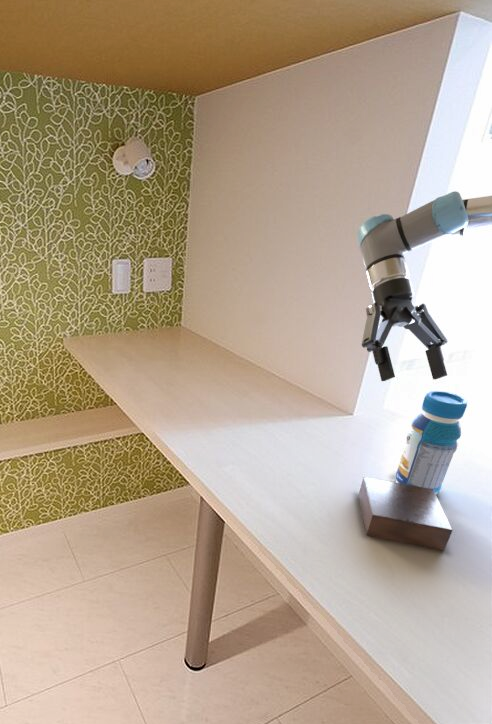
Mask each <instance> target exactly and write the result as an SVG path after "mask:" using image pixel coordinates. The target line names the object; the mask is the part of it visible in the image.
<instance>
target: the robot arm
mask: <svg viewBox="0 0 492 724" xmlns="http://www.w3.org/2000/svg"><path fill="white" fill-rule="evenodd" d="M483 234H492V195H486V196H480V197H471V198H466V199H465V198H464V199H463V198H462V196H461V194H460V192H459V191H451V192H449V193H446V194H444V195H441V196H438V197H437V198H435V199H433V200H432V201H430V202H427V203H425V204H423V205H422V206H419V207H418V208H416V209H413V210H412V211H410V212H408V213H406V214H404V215H402V216H399V217H396V218H394V216H392V215H391V214H388V213H381V214H379V215H377V216H376V215H375V216H374V215H373V216H372V217H370V218H368V219H367V220H366V219H365V221H364V222H363V223H362V224H360V226H359V228H358V230H357V238H358V243H359V246H358V247H359V250H360V254H361V256H362V261H363V265H364V267H365V271H366V275H367V279H368V283H369V287H370V290H371V296H372V301H373V303H372V304H371V305H369V306H367V307H366V308H365V312H366V321H365V326H364V332H363V335H362V341H361V347H362V348H364V349H366V351H367V352H368V353H371V352H372V355H373V360H374V364H375V365H377V368H378V373H379V377H380V381H381V382H386V381H388V380H391V379H394V378H395V377H396V375H395V371H394V367H393V363H392V359H391V356H390V355H391V354H390V351H389V347H388V346H387V345H385V342H386V340H387V338H388V337H389V334H390V332H391V330H392V328H394V327H398V328H404V329H405V330H409V331H410V332H411V333H412V334H413V335H414V337H416V338H417V339H418V340H419V341H420V342H421V344H423V346H425V348H426V349H427V350H425V356H426V359H427V362H428V366H429V370H430V373H431V377H432V380H438V379H441V378H443V377H446V376H448V372H447V368H446V365H445V362H444V360H445V358H444V355H443V351H442V346H444V345H446V344H448V341H449V340H448V339H447V337H446V336H445V334H444V333H443V331H442V330H441V329H440V327H439V326H438V325H437V323H436V321H435V320H434V318H433V317H432V316H431V315H430V313H429V310H428V308H427V305H426V304H425V303H421V304H419V305H414V303H413V301H412V300H413V297H414V296H415V292H414V291H415V290H414V287H413V285H412V281H411V279H410V273H409V269H408V266H407V262H406V259H405V255H404V254H406V253H408V252H412V251H413V250H415V249H417V248H420V247H423V246H424V245H428V244H429V243H432V242H435V241H437V240H439V239H443V238H444V239H445V238H453V237H462V236H463V237H464V236H472V235H483ZM380 319H381V320H380ZM384 345H385V346H384Z"/></svg>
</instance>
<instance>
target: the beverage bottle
mask: <svg viewBox="0 0 492 724" xmlns="http://www.w3.org/2000/svg"><path fill="white" fill-rule="evenodd" d="M467 406H468V400H467V399H466V398H465V397H463V396H461V395H458V394H456V393H452V392H448V391H441V390H432V391H428V392H427V393H426V394H425V395H424V399H423V401H422V405H421V410H422V412H420V413H419V414H418V415H417V416H416V417H415V418H414V419H413V420H412V422H411V429H410V430H409V431H408V432H407V435H406V441H405V444H404V448H403V450H402V454H401V457H400V461H399V463H398V467H397V470H396V473H395V476H394V479H395V483H400V484H406V485H412V486H418V487H424V488H429V489H433V490H434V492H435V494H436V495H437V494H438V493H440V491H441V488H442V485H443V482H444V480H445V477H446V474H447V472H448V469H449V467H450V464H451V462H452V459H453V456H454V455H455V453H456V451H457V449H458V440H459V439H460V438H461V436H462V429H461V428H462V427H461V424H460V421H459V420H461V419H462V418H463V416H464V414H465V412H466V409H467Z"/></svg>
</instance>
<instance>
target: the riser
mask: <svg viewBox="0 0 492 724" xmlns="http://www.w3.org/2000/svg"><path fill="white" fill-rule="evenodd" d="M362 478H363V479H362V482H361V485H360V488H359V493H358V495H357V496H358V501H359V506H360V510H361V515H362V519H363V524H364V529H365V535H366V536H370V537H376V538H379V539H384V540H389V541H393V542H399V543H405V544H409V545H413V546H419V547H424V548H428V549H434V550H438V551H442V552H443V551H445V550H446V547H447V545H448V543H449V540H450V537H451V535H452V533H453V531H454V530H453V528H452V526H451V524H450V521H449V520H448V517H447V515H446V513H445V510H444V508H443V507H442V505H441V502H440V500H439V498H438V496H437V494H435V492H434V490H433V489H429V488H424V487H418V486H412V485H406V484H400V483H397V482H396V481H395V482H393V481H389V480H388V481H387V480H383V479H377V478H370V477H365V476H364V477H362Z"/></svg>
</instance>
